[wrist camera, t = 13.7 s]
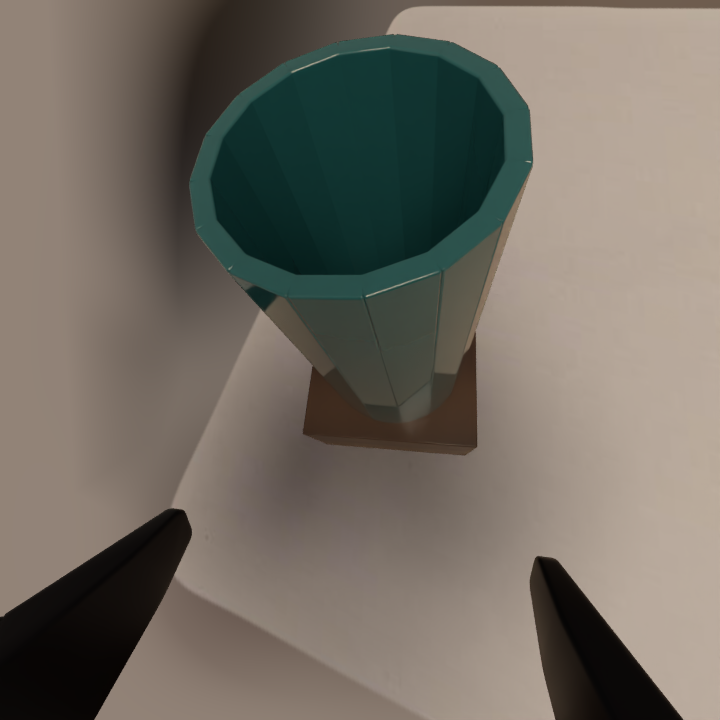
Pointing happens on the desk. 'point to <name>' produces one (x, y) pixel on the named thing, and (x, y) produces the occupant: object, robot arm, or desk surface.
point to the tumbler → (369, 209)
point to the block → (427, 434)
